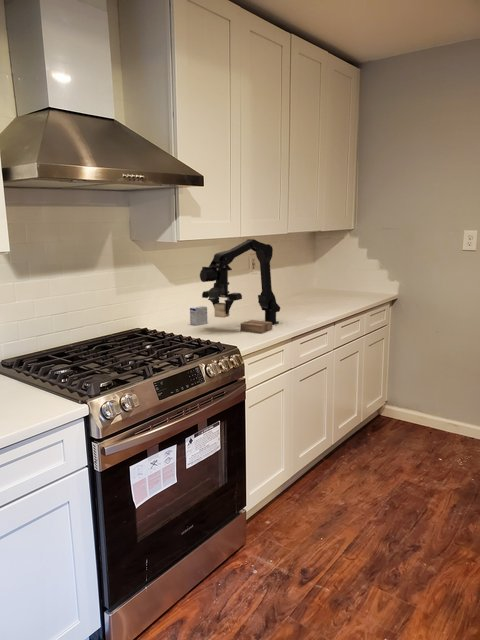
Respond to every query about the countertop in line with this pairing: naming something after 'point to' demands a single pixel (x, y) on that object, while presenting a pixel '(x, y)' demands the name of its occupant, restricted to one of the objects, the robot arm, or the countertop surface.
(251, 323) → the walnut block
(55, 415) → the countertop surface
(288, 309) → the countertop surface
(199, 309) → the box
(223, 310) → the maple block
